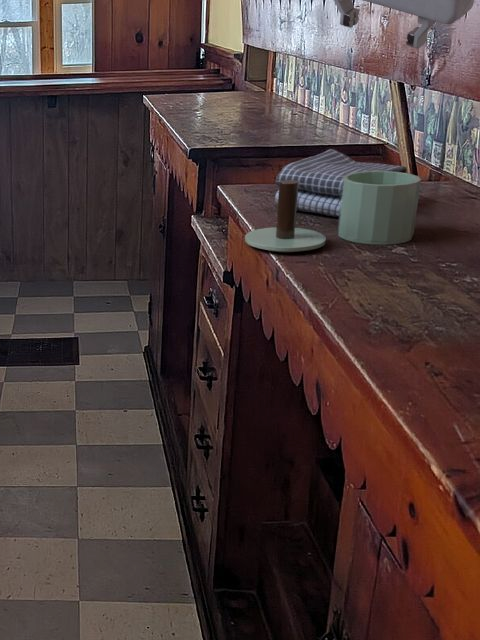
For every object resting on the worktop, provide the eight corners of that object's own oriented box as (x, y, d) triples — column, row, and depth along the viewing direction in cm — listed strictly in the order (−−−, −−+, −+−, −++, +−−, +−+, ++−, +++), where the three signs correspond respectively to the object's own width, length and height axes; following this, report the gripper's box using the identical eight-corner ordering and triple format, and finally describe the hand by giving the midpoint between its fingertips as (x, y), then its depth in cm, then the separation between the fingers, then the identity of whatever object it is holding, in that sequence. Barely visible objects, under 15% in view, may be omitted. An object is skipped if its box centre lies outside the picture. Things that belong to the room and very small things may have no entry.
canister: (420, 231, 128) (428, 173, 125) (401, 248, 121) (409, 187, 118) (350, 223, 134) (356, 168, 131) (328, 239, 127) (333, 181, 123)
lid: (336, 240, 126) (342, 177, 123) (309, 259, 118) (315, 193, 115) (262, 231, 133) (266, 171, 129) (231, 249, 125) (235, 186, 121)
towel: (269, 211, 144) (273, 163, 141) (323, 190, 155) (328, 146, 152) (357, 224, 134) (363, 173, 131) (409, 201, 145) (415, 154, 142)
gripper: (500, -74, 90) (476, 45, 101) (336, -107, 103) (330, 2, 113) (462, -47, 89) (442, 72, 99) (301, -84, 102) (297, 25, 112)
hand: (381, 34), depth 106 cm, fingers open, 8 cm apart
